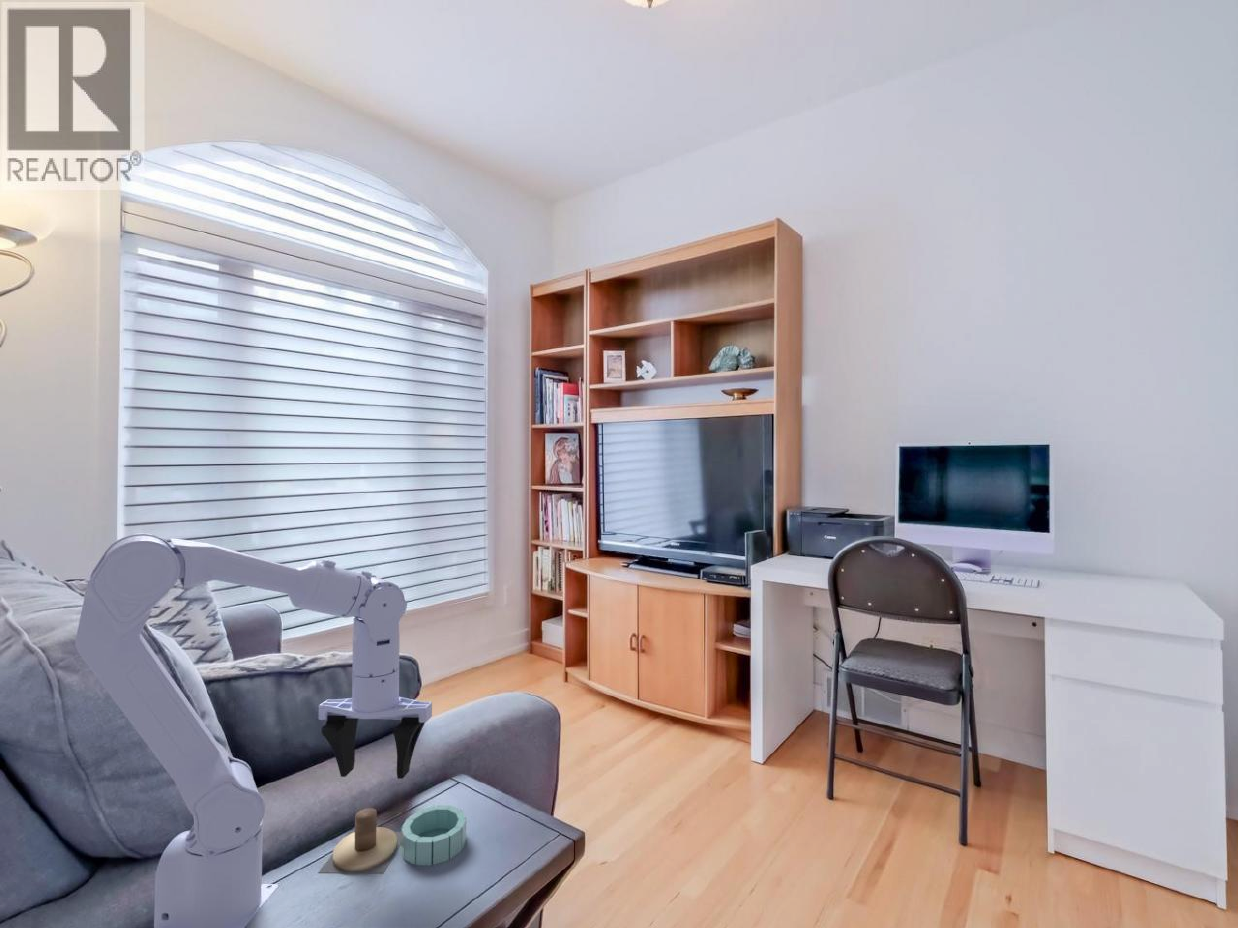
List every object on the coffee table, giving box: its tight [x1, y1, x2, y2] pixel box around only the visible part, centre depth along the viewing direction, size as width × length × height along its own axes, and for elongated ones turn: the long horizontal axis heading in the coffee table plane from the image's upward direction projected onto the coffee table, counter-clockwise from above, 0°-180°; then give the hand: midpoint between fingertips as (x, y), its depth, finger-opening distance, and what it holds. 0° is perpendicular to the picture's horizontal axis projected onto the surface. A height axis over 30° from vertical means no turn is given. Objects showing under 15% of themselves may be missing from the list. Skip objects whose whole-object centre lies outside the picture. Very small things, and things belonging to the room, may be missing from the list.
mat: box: [318, 831, 402, 874], centre depth 74 cm, size 8×8×1 cm
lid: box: [332, 807, 397, 872], centre depth 74 cm, size 8×8×5 cm
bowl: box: [400, 804, 467, 866], centre depth 75 cm, size 8×8×3 cm
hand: (375, 773), depth 75 cm, fingers open, 7 cm apart
